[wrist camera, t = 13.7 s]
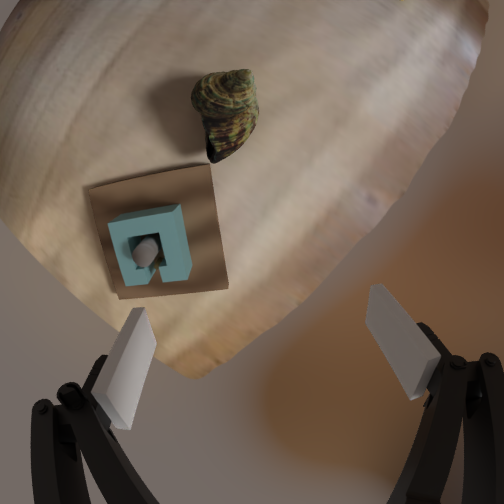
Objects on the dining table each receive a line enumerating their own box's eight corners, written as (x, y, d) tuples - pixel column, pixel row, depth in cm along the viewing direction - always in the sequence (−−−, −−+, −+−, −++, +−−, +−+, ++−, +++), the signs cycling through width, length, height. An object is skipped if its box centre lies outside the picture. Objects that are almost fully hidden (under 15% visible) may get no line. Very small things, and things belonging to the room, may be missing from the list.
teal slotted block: (120, 214, 40) (107, 223, 36) (180, 203, 40) (172, 211, 36) (135, 272, 44) (125, 286, 39) (192, 265, 44) (187, 279, 39)
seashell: (172, 115, 37) (153, 107, 28) (231, 67, 35) (230, 46, 26) (216, 165, 40) (210, 172, 31) (276, 119, 38) (288, 112, 29)
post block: (93, 187, 40) (65, 199, 32) (209, 163, 40) (202, 168, 32) (123, 294, 48) (105, 321, 39) (228, 283, 48) (227, 312, 39)
